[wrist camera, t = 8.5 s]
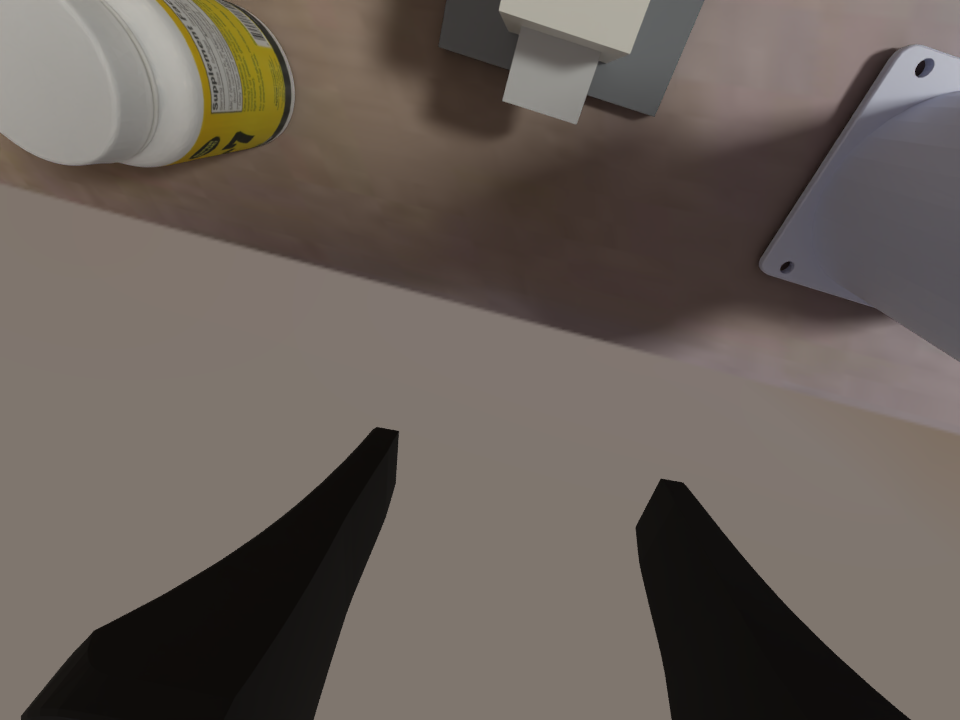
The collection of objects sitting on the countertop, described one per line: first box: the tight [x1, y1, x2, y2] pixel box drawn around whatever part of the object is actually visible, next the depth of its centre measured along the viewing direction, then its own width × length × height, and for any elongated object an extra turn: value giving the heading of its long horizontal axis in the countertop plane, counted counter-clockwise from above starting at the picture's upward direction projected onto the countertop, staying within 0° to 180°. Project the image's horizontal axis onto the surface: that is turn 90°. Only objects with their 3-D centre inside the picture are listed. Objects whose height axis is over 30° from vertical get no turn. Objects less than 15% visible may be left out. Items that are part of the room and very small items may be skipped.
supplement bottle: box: [0, 0, 295, 167], centre depth 13 cm, size 5×5×8 cm
